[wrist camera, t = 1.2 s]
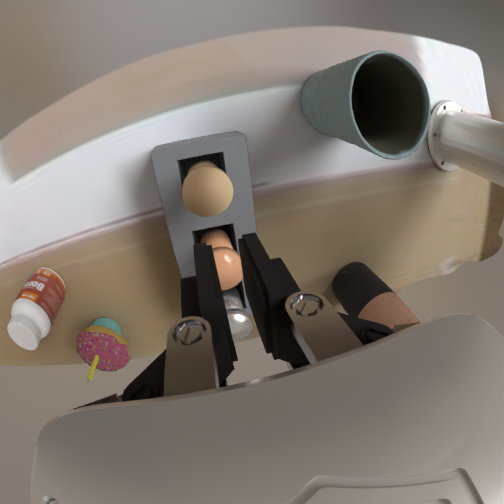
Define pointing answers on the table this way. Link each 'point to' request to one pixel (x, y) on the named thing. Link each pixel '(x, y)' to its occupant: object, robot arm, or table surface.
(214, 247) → the terracotta plug
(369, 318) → the travel mug
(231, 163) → the socket block
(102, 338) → the cupcake
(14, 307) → the pill bottle
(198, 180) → the oak plug
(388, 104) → the green tapered cup
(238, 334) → the aluminium plug
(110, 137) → the table surface
